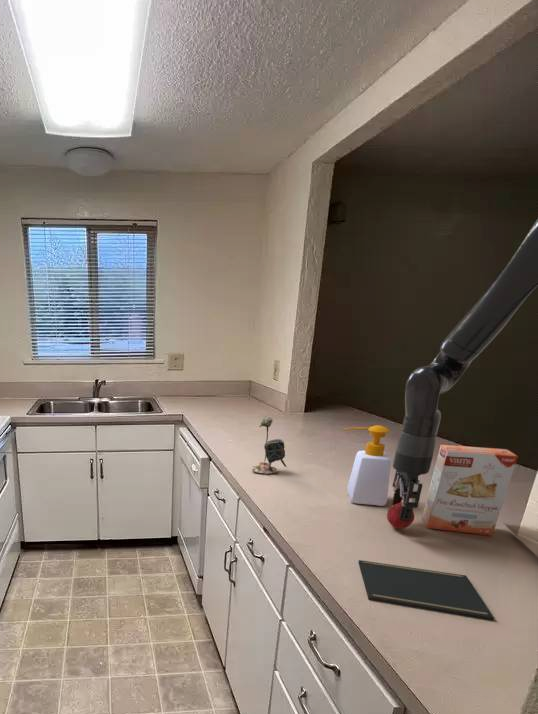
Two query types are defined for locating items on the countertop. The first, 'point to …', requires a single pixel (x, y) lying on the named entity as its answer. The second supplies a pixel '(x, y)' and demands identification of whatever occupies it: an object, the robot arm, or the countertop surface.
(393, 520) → the onion
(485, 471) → the cracker box
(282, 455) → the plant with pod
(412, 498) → the robot arm
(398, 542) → the countertop surface
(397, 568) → the placemat
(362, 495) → the soap bottle
